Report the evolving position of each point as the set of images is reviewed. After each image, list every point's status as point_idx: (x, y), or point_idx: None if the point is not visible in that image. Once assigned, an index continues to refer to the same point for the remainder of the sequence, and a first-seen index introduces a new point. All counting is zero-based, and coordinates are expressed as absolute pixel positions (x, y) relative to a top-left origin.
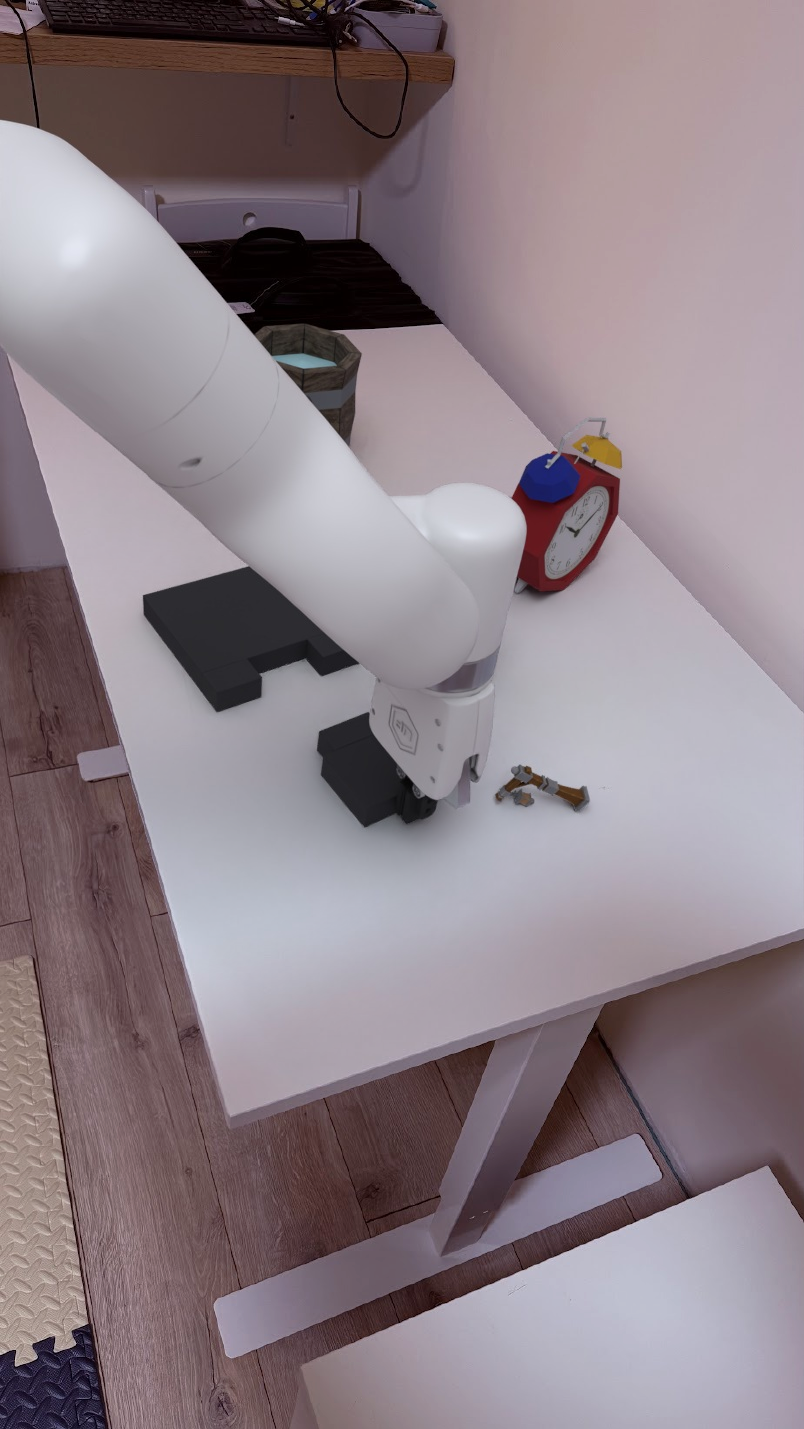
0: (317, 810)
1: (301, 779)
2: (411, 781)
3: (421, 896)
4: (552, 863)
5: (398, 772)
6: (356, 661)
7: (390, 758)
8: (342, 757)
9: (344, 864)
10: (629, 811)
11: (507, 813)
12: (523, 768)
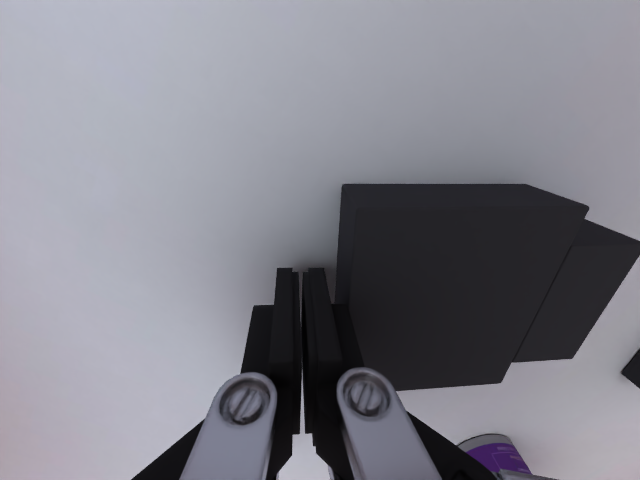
0: (456, 109)
1: (553, 134)
2: (317, 390)
3: (91, 185)
4: (113, 411)
5: (375, 379)
6: (633, 372)
7: (447, 338)
8: (539, 249)
9: (266, 58)
10: None
11: None
12: None
